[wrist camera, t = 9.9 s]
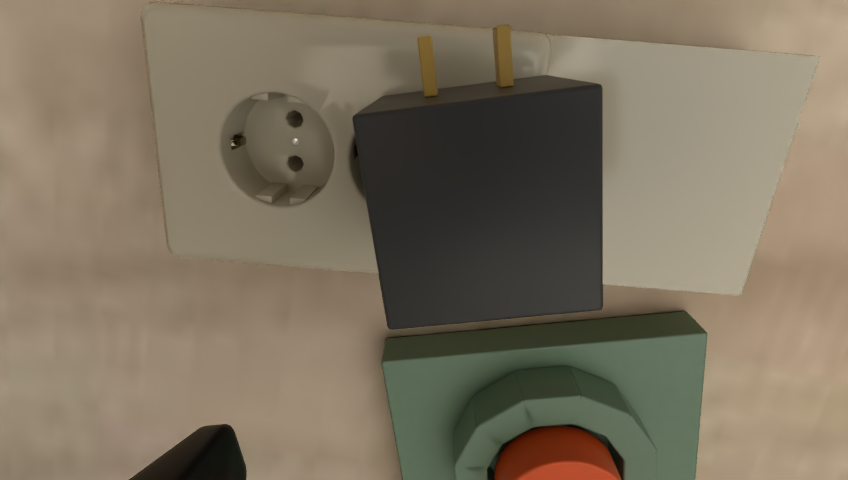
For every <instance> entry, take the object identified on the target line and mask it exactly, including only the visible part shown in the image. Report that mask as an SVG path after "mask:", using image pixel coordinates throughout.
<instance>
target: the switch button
mask: <svg viewBox="0 0 848 480" xmlns="http://www.w3.org/2000/svg"><path fill="white" fill-rule="evenodd" d="M494 477H495V480H621V477H620V475H619V473H618V470H617V468H616V466H615V463H614V461H613V459H612V456H611V454H610V452H609V451H608V449H607V448H606V446H605V445H604V444H603V443H602V442H601V441H600V440H599V439H597V438H596V437H595V436H593V435H592V434H590V433H588V432H586V431H584V430H581V429H578V428H575V427H569V426H560V425H557V426H545V427H540V428H536V429H533V430H530V431H527V432H525V433H523V434H521V435H520V436H518V437H516V438H515V439H514V440H512V441H511V442H510V443H509V444H508V445H507V446H506V447H505V448H504V450H503V451H502V452H501V454H500V456H499V458H498V460H497V463H496V466H495V472H494Z"/></svg>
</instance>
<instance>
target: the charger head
mask: <svg viewBox="0 0 848 480" xmlns="http://www.w3.org/2000/svg"><path fill="white" fill-rule="evenodd" d="M417 42H418V50H419V59H420V67H421V75H422V84H423V91H417V92H409V93H401V94H394V95H386V96H382V97H380V98H379V99H377V100H376V101H374V102H373V103H371V104H370V105H368V106H367V107H365V108H364V109H362V110H361V111H360V112H358V113H357V114H355V115H354V116H353V118H352V121H353V127H354V133H355V139H356V145H357V151H358V156H359V162H360V168H361V174H362V180H363V186H364V192H365V198H366V203H367V209H368V215H369V221H370V227H371V233H372V239H373V244H374V250H375V256H376V262H377V268H378V274H379V280H380V285H381V291H382V297H383V303H384V309H385V315H386V321H387V326H388V328H389V329H391V330H393V329H404V328H414V327H425V326H435V325H446V324H457V323H467V322H478V321H489V320H499V319H510V318H521V317H531V316H542V315H553V314H563V313H574V312H585V311H595V310H601V309H602V307H603V88H602V86H601V84H597V83H591V82H585V81H579V80H573V79H567V78H561V77H555V76H549V75H542V76H534V77H526V78H518V79H514V77H513V60H512V44H511V27H510V25H502V26H497V27H495V28H493V44H494V58H495V72H496V81H495V82H487V83H479V84H472V85H464V86H456V87H448V88H440V89H438V86H437V77H436V68H435V59H434V50H433V41H432V37H431V36H430V35H428V36H421V37H418V38H417Z"/></svg>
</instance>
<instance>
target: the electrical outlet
mask: <svg viewBox="0 0 848 480" xmlns="http://www.w3.org/2000/svg"><path fill="white" fill-rule="evenodd" d="M141 21H142V30H143V39H144V48H145V57H146V66H147V74H148V83H149V92H150V101H151V110H152V119H153V127H154V136H155V145H156V154H157V163H158V172H159V180H160V189H161V198H162V207H163V216H164V225H165V233H166V242H167V247H168V250H169V251H170V253H171V254H173V255H174V256H176V257H181V258H193V259H206V260H218V261H230V262H242V263H254V264H266V265H279V266H291V267H303V268H315V269H327V270H340V271H352V272H364V273H376V274H378V268H377V262H376V256H375V250H374V244H373V239H372V233H371V227H370V221H369V215H368V209H367V203H366V198H365V192H364V186H363V180H362V174H361V168H360V162H359V156H358V151H357V145H356V139H355V133H354V127H353V121H352V118H353V116H354V115H355V114H357V113H358V112H360V111H361V110H362V109H364V108H365V107H367V106H368V105H370V104H371V103H373V102H374V101H376V100H377V99H379V98H380V97H382V96H386V95H394V94H401V93H409V92H417V91H423V84H422V75H421V67H420V59H419V50H418V42H417V38H418V37H421V36H428V35H430V36H431V37H432V41H433V50H434V59H435V68H436V77H437V86H438V89H440V88H448V87H456V86H464V85H472V84H479V83H487V82H495V81H496V72H495V58H494V44H493V29H490V28H478V27H465V26H453V25H440V24H428V23H415V22H403V21H390V20H378V19H365V18H353V17H340V16H328V15H315V14H303V13H291V12H278V11H266V10H253V9H241V8H228V7H216V6H203V5H191V4H178V3H166V2H150V3H149V4H147V5H146V6H145V7H144V8H143V10H142V12H141ZM511 44H512V60H513V77H514V79H518V78H526V77H534V76H542V75H549V76H555V77H561V78H567V79H573V80H579V81H585V82H591V83H597V84H601V86H602V88H603V285H615V286H627V287H639V288H652V289H664V290H676V291H688V292H700V293H712V294H725V295H737V296H741V293H742V290H743V287H744V284H745V281H746V278H747V275H748V272H749V269H750V266H751V263H752V260H753V257H754V254H755V251H756V248H757V245H758V242H759V239H760V236H761V233H762V230H763V227H764V224H765V221H766V218H767V215H768V212H769V209H770V205H771V202H772V199H773V196H774V193H775V190H776V187H777V184H778V181H779V178H780V175H781V172H782V169H783V166H784V163H785V160H786V157H787V154H788V151H789V148H790V145H791V142H792V139H793V136H794V133H795V130H796V127H797V124H798V121H799V118H800V115H801V112H802V109H803V106H804V103H805V100H806V97H807V94H808V91H809V88H810V85H811V82H812V79H813V76H814V73H815V70H816V67H817V64H818V61H819V58H820V56H813V55H800V54H788V53H775V52H763V51H750V50H738V49H725V48H713V47H700V46H688V45H675V44H663V43H651V42H638V41H626V40H613V39H601V38H588V37H576V36H563V35H551V34H543V33H540V32H527V31H515V30H511Z"/></svg>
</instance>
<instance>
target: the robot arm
mask: <svg viewBox="0 0 848 480" xmlns="http://www.w3.org/2000/svg"><path fill="white" fill-rule="evenodd" d="M129 480H246V466H245V462H244V459H243V456H242V453H241V450H240V447H239V444H238V440H237V437H236V434H235V432H234V429H233V428H232V427H231V426H230V425H227V424H221V425H210V426H204V427H201V428H199V429H198V430H196V431H195V432H194V433H192V434H191V435H190V436H188V437H187V438H185V439H184V440H183V441H181V442H180V443H179V444H177V445H176V446H174V447H173V448H172V449H170V450H169V451H168V452H166V453H165V454H164V455H162V456H161V457H159V458H158V459H157V460H155V461H154V462H153V463H151V464H150V465H148V466H147V467H146V468H144V469H143V470H142V471H140V472H139V473H137V474H136V475H135V476H133V477H132V478H131V479H129Z"/></svg>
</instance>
